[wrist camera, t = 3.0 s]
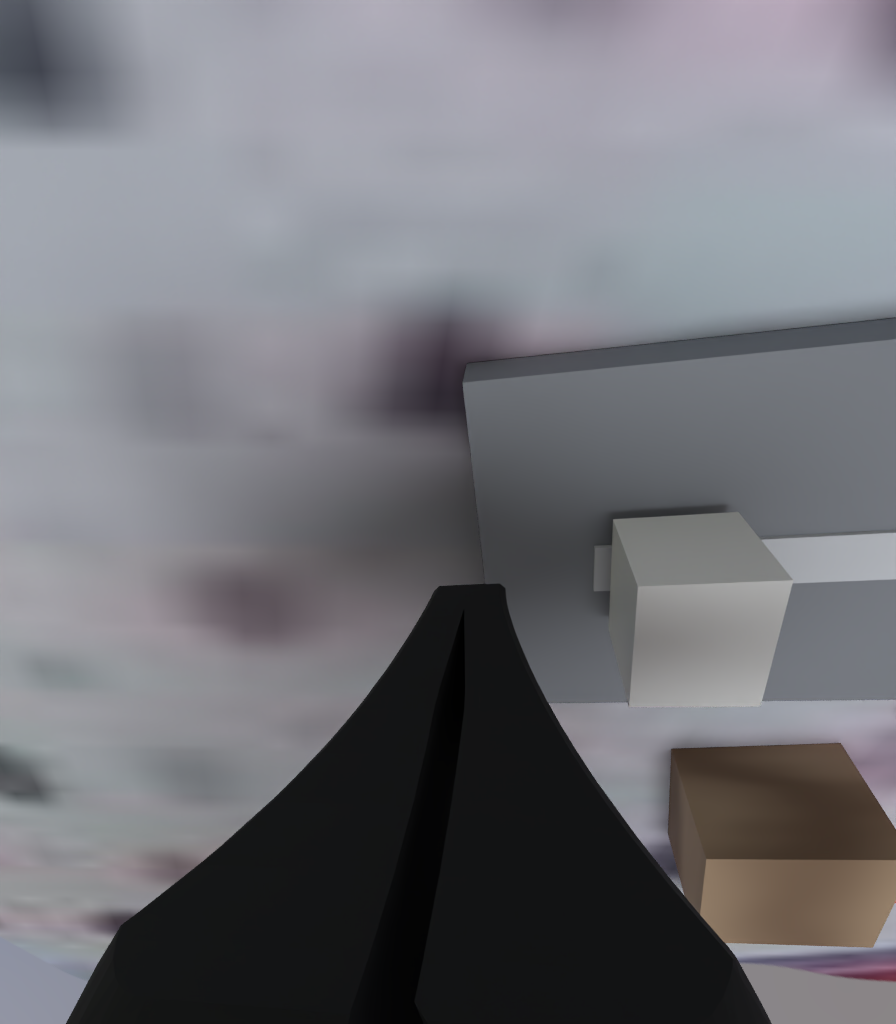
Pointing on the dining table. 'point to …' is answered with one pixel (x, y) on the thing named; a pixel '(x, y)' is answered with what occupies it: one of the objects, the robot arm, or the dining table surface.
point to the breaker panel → (696, 491)
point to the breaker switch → (694, 610)
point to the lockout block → (781, 844)
